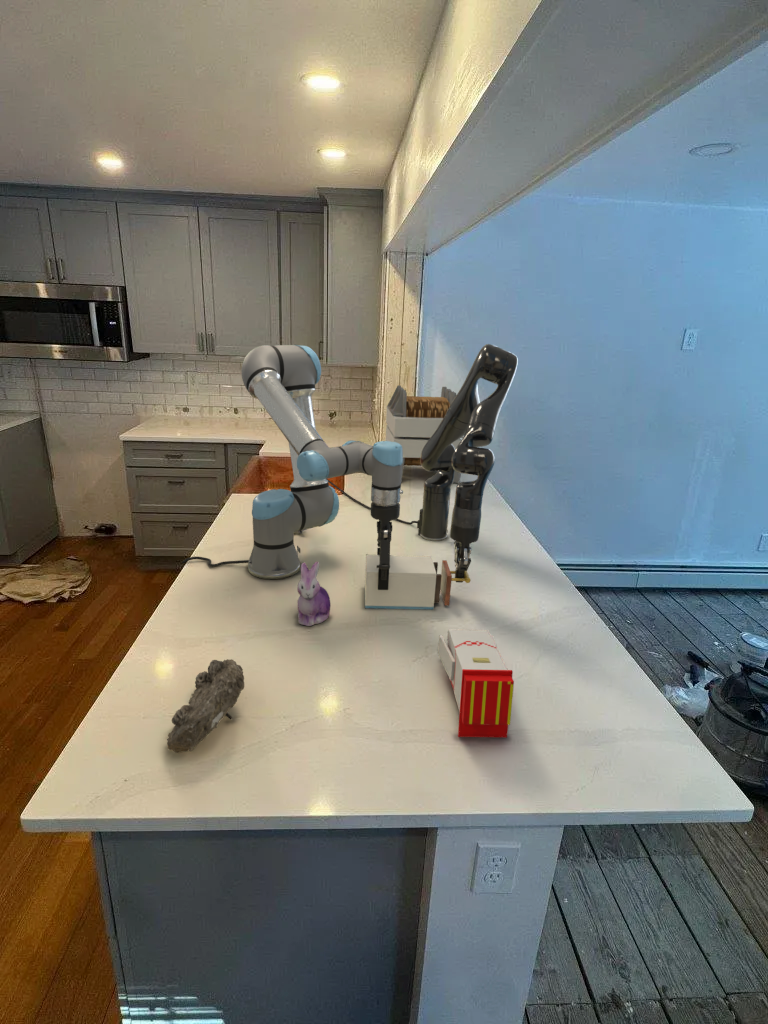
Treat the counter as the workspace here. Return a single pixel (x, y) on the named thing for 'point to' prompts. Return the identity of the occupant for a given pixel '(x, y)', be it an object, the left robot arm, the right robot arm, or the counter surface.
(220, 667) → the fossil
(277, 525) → the left robot arm
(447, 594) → the drawer
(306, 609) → the figurine
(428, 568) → the cabinet
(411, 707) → the counter surface
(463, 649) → the toy
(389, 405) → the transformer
